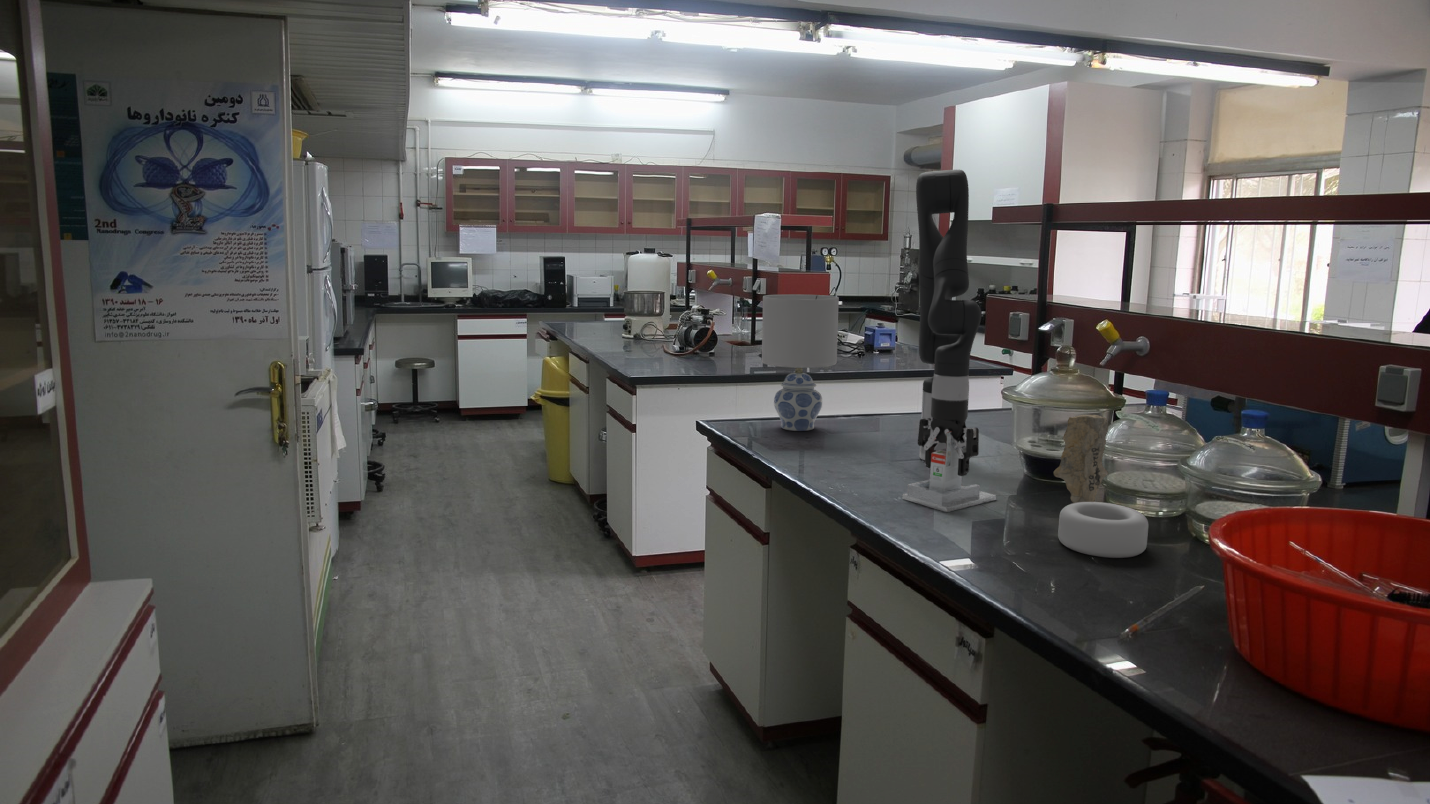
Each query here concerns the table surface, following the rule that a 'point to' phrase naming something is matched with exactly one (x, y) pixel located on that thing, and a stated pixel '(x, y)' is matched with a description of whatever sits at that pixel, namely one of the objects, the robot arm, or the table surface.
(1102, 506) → the thick torus
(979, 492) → the bracket
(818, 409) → the lamp
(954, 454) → the ink box
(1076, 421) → the stone tool
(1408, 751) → the table surface
